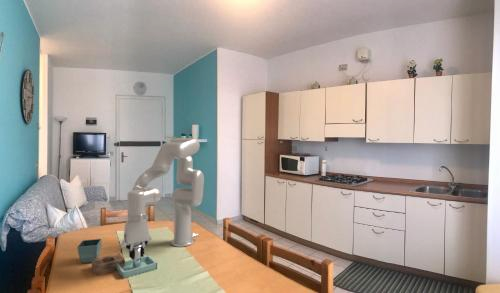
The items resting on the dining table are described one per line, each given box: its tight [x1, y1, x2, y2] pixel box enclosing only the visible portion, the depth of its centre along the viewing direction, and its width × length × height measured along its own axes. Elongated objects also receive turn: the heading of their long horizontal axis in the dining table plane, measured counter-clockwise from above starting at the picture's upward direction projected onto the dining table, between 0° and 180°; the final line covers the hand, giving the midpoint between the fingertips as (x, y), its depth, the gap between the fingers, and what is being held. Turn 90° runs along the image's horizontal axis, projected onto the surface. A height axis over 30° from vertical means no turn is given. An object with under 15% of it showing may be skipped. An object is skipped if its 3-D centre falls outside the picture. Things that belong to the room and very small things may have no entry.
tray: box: [116, 255, 158, 279], centre depth 133 cm, size 15×11×3 cm
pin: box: [133, 242, 142, 268], centre depth 132 cm, size 5×5×10 cm
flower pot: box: [77, 238, 103, 264], centre depth 141 cm, size 9×9×9 cm
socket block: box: [91, 253, 126, 277], centre depth 133 cm, size 12×9×4 cm
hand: (136, 256), depth 132 cm, fingers closed on pin, 3 cm apart
